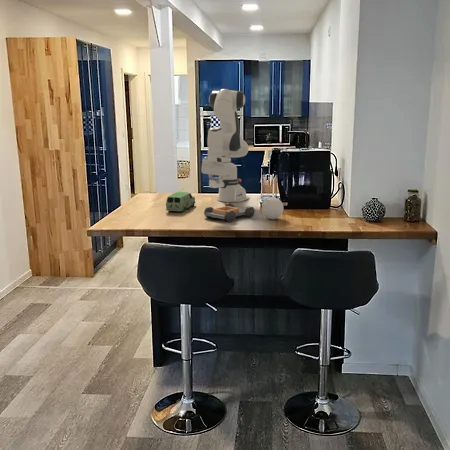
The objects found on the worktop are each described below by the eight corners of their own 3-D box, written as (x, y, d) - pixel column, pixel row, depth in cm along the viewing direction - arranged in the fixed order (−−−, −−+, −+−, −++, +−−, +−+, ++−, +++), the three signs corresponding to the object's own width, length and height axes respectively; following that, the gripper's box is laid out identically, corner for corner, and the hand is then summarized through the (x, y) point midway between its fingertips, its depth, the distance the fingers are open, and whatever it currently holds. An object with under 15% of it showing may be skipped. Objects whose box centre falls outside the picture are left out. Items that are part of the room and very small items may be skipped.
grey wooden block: (217, 185, 284) (216, 177, 283) (222, 186, 281) (222, 177, 280) (209, 187, 280) (209, 178, 279) (214, 188, 277) (214, 178, 276)
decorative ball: (257, 217, 283) (257, 196, 280) (276, 215, 288) (276, 195, 285) (267, 222, 272) (268, 200, 270) (287, 220, 277) (287, 198, 274)
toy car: (196, 205, 318) (195, 190, 316) (182, 214, 295) (181, 197, 292) (180, 205, 321) (179, 189, 318) (165, 213, 297) (164, 196, 295)
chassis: (232, 211, 299) (232, 201, 298) (255, 216, 287) (255, 205, 286) (202, 218, 282) (202, 207, 281) (226, 223, 270) (226, 212, 269)
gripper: (198, 157, 282) (198, 181, 285) (224, 159, 268) (224, 185, 271) (206, 156, 286) (207, 180, 289) (233, 158, 272) (233, 184, 275)
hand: (216, 183), depth 280 cm, fingers closed on grey wooden block, 4 cm apart
